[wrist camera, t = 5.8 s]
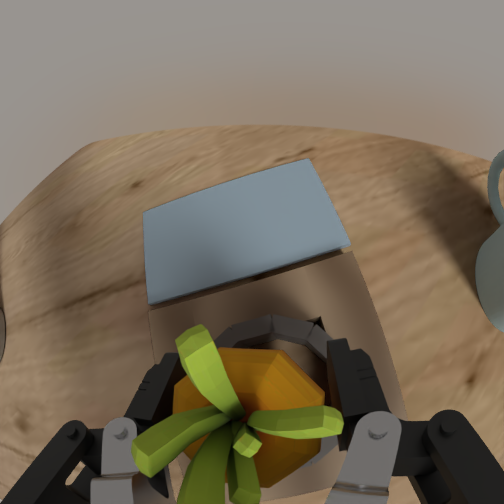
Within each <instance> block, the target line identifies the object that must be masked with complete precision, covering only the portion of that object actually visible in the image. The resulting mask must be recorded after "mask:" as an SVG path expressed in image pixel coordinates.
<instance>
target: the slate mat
mask: <svg viewBox="0 0 504 504" xmlns="http://www.w3.org/2000/svg"><path fill="white" fill-rule="evenodd" d="M143 233H144V256H145V272H146V285H147V296H148V304H150V305H153V304H157V303H161V302H164V301H168V300H171V299H175V298H179V297H182V296H186V295H189V294H193V293H196V292H200V291H203V290H207V289H210V288H214V287H217V286H221V285H224V284H228V283H231V282H234V281H238V280H241V279H245V278H248V277H251V276H255V275H258V274H261V273H265V272H268V271H271V270H275V269H278V268H281V267H284V266H288V265H291V264H294V263H297V262H300V261H304V260H307V259H310V258H313V257H316V256H320V255H323V254H326V253H329V252H332V251H335V250H338V249H341V248H345V247H348V246H350V244H351V243H350V241H349V238H348V236H347V234H346V232H345V229H344V227H343V225H342V223H341V221H340V219H339V217H338V214H337V212H336V210H335V208H334V206H333V204H332V202H331V200H330V198H329V196H328V194H327V192H326V190H325V188H324V186H323V184H322V182H321V180H320V178H319V177H318V175H317V173H316V171H315V169H314V167H313V165H312V163H311V162H310V160H309V158H308V159H304V160H300V161H296V162H292V163H289V164H285V165H281V166H278V167H274V168H271V169H267V170H264V171H261V172H257V173H254V174H251V175H247V176H244V177H241V178H238V179H235V180H231V181H228V182H225V183H222V184H219V185H216V186H213V187H210V188H207V189H204V190H202V191H199V192H196V193H193V194H190V195H187V196H185V197H182V198H179V199H176V200H174V201H171V202H168V203H166V204H163V205H160V206H158V207H155V208H153V209H150V210H148V211H145V212H143Z"/></svg>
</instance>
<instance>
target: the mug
mask: <svg viewBox="0 0 504 504" xmlns="http://www.w3.org/2000/svg"><path fill="white" fill-rule="evenodd" d="M503 167H504V150H503V151H501V152H499V153H498V155H497V156H496V157H495V158H494V160H493V162H492V164H491V166H490V170H489V174H488V186H487V188H488V198H489V202H490V206H491V209H492V211H493V214H494V216H495V218H496V219H497V221H498V223H499V224H500V227H499V228H498V229H497V230H496V231H495V232H494V233H493V234H492V235H491V236H490V237H489V238H488V239H487V240H486V241H485V242H484V243H483V244H482V246H481V248H480V250H479V252H478V255H477V259H476V266H475V279H476V287H477V292H478V296H479V300H480V302H481V305H482V308H483V310H484V312H485V314H486V315H487V317H488V319H489V320H490V321H491V323H492V324H493V325H494V326H495V327H496V328H497V329H499V330H500V331H502V332H504V209H503V207H502V205H501V202H500V198H499V191H498V181H499V176H500V173H501V171H502V169H503Z"/></svg>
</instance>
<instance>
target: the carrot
mask: <svg viewBox="0 0 504 504" xmlns="http://www.w3.org/2000/svg"><path fill="white" fill-rule="evenodd" d="M175 342H176V345H177V349H178V352H179V356H180V360H181V363H182V366H183V368H184V370H185V372H186V373H187V375H186V376H185V377H184V378H183V379H182V380H180V381H179V382H178V383H177V384H176V385H174V399H173V415H171V416H170V417H168V418H166V419H164V420H163V421H161V422H159V423H157V424H155V425H153V426H152V427H150V428H149V429H147V430H146V431H145V432H143V433H142V434H140V435H139V436H138V437H136V438H135V439H133V440H132V446H131V453H132V456H133V459H134V462H135V464H136V466H137V467H138V469H139V470H140V472H141V473H143V474H145V475H146V476H148V477H150V478H151V477H153V476H154V475H155V474H156V473H158V472H159V471H160V470H162V469H163V468H164V467H165V466H167V465H168V464H169V463H170V462H172V461H173V460H174V459H175V458H176V457H177V456H178V455H179V454H180V453H182V452H184V453H185V455H186V456H187V457H188V458H189V459H190V460H191V462H190V463H189V465H188V466H187V470H186V473H185V476H184V479H183V482H182V485H181V489H180V492H179V495H178V499H177V504H225V483H228V492H229V501H230V502H232V503H234V504H259V502H260V498H261V495H262V494H261V490H260V488H270V487H272V486H273V485H275V484H276V483H278V482H279V481H281V480H282V479H284V478H285V477H287V476H288V475H290V474H291V473H293V472H294V471H296V470H297V469H298V468H300V467H301V466H303V465H304V464H305V463H307V462H308V461H309V460H311V459H312V458H313V457H314V456H316V455H317V454H318V453H319V452H320V450H321V440H322V438H323V437H328V436H333V435H338V434H341V433H342V429H343V425H344V422H343V418H342V414H341V413H340V412H339V411H338V410H336V409H335V408H332V407H328V406H324V400H325V392H324V391H323V390H322V389H321V388H320V387H319V386H318V385H317V384H316V383H315V382H314V381H313V380H312V379H311V378H310V377H309V376H308V375H307V374H306V373H305V372H304V371H303V370H302V369H301V368H300V367H299V366H298V365H297V364H296V363H295V362H294V361H293V360H292V359H291V358H290V357H289V356H288V355H287V354H286V353H285V352H284V351H283V350H264V349H241V348H225V347H219V348H218V349H217V347H216V345H215V343H214V341H213V339H212V337H211V335H210V333H209V331H208V330H207V329H206V328H205V327H204V326H203V325H202V324H199V325H197V326H195V327H192V328H190V329H188V330H186V331H185V332H184V333H183V334H181V335H180V336H179V337H178V338H177V339H176V340H175Z"/></svg>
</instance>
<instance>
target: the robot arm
mask: <svg viewBox="0 0 504 504" xmlns="http://www.w3.org/2000/svg"><path fill="white" fill-rule="evenodd" d="M4 343H5V321H4V315H3V312H2V310H1V308H0V361H1V358H2V355H3V350H4ZM186 375H187V373H186V372H185V370H184V368H183V366H182V363H181V360H180V356H179V352H169V353H168V352H167V353H165V354H164V356H163V358H162V360H161V361H160V363H159V364H155V365H154V366H153V367H152V368H151V369H150V370H149V371H148V372H147V373H146V375H145V377H144V379H143V381H142V383H141V384H140V386H139V388H138V389H139V390H137V392H136V394H135V396H134V398H133V400H132V402H131V404H130V406H129V408H128V409H127V411H126V413H125V415H124V417H120V418H116V419H114V420H112V421H110V422H109V423H108V424H107V425H106V426H105V428H102V429H88V428H87V427H86V426H85V425H84V423H82V422H81V421H78V420H72V421H69V422H67V423H66V424H64V425H63V426H62V428H61V429H60V430H59V431H58V432H57V433H56V435H55V436H54V437H53V438H52V439H51V441H50V442H49V443H48V444H47V445H46V447H45V448H44V449H43V450H42V451H41V453H40V454H39V455H38V456H37V457H36V459H35V460H34V461H33V462H32V464H31V465H30V466H29V467H28V469H27V470H26V471H25V472H24V474H23V475H22V476H21V477H20V479H19V480H18V481H17V482H16V484H15V485H14V486H13V487H12V489H11V490H10V491H9V493H8V494H7V495H6V496H5V498H4V499H3V500H2V502H1V503H0V504H177V503H176V501H175V498H174V493H173V489H172V484H171V479H170V473H169V468H168V465H167V466H165V467H164V468H163V469H162V470H160V471H159V472H158V473H156V474H155V475H154V476H153V477H151V478H150V477H148V476H146V475H145V474H143V473H141V472H140V470H139V469H138V467H137V466H136V464H135V462H134V459H133V456H132V453H131V446H132V440H133V439H135V438H136V437H138V436H139V435H140V434H142V433H143V432H145V431H146V430H147V429H149V428H150V427H152V426H153V425H155V424H157V423H159V422H161V421H163V420H164V419H166V418H168V417H170V416H171V415H173V399H174V385H176V384H177V383H178V382H179V381H180V380H182V379H183V378H184V377H185V376H186ZM327 376H328V384H329V389H330V395H331V401H332V407H333V408H335V409H336V410H338V411H339V412H340V413H341V414H342V418H343V422H344V425H343V429H342V433H341V434H338V435H337V439H338V446H339V452H340V451H345V450H347V454H346V457H345V460H344V463H343V465H342V468H341V470H340V473H339V475H338V478H337V480H336V482H335V484H334V485H333V487H332V489H331V491H330V493H329V495H328V497H327V500H326V502H325V504H387V500H388V496H389V491H388V487H389V483H390V479H391V476H407V477H408V479H409V480H410V482H411V484H412V486H413V488H414V490H415V492H416V494H417V496H418V498H419V500H420V502H421V504H504V471H503V469H502V468H501V466H500V465H499V463H498V462H497V460H496V459H495V457H494V456H493V455H492V453H491V452H490V450H489V449H488V447H487V446H486V445H485V443H484V442H483V441H482V439H481V438H480V436H479V435H478V434H477V432H476V431H475V430H474V428H473V427H472V426H471V424H470V423H469V422H468V420H467V419H466V418H465V417H464V415H463V414H461V413H460V412H458V411H455V410H443V411H440V412H438V413H437V414H435V415H434V416H433V417H432V418H431V419H430V421H405V420H401V419H399V418H397V417H396V416H395V415H393V414H392V413H391V411H390V410H389V407H388V405H387V402H386V399H385V396H384V393H383V390H382V388H381V385H380V382H379V379H378V377H377V374H376V371H375V369H374V366H373V363H372V361H371V358H370V356H369V355H368V354H367V353H366V352H365V351H363V350H362V349H361V348H360V349H355V350H350V347H349V344H348V341H347V339H346V338H340V339H334V340H328V341H327ZM80 461H81V462H82V463H83V464H85V465H86V466H85V467H84V468H83V470H82V471H81V472H80V474H79V475H78V476H77V478H76V479H75V481H74V482H73V483H72V484H71V485H65V481H66V479H67V478H68V476H69V475H70V474H71V472H72V471H73V470H74V468H75V467H76V466H77V464H78V463H79V462H80Z"/></svg>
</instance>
